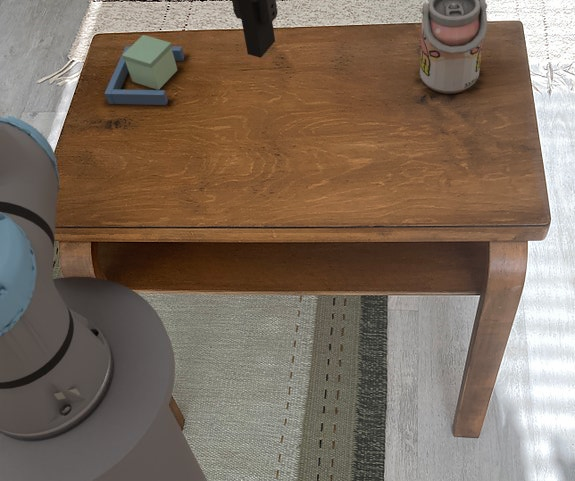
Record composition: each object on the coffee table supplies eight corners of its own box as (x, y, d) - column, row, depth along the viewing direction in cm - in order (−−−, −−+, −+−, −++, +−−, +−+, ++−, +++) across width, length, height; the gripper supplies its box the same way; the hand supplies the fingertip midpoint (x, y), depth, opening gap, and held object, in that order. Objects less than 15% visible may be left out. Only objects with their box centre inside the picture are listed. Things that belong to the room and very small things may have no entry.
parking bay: (184, 57, 115) (181, 46, 114) (166, 105, 109) (163, 94, 107) (129, 56, 117) (125, 45, 115) (108, 104, 110) (104, 93, 109)
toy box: (131, 82, 113) (121, 55, 109) (151, 61, 115) (143, 34, 112) (158, 91, 111) (150, 63, 107) (178, 70, 113) (171, 42, 110)
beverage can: (484, 99, 102) (494, 25, 93) (422, 104, 103) (425, 31, 93) (475, 56, 108) (483, -18, 98) (416, 61, 109) (418, -12, 99)
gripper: (322, -239, 53) (340, 39, 71) (171, -253, 58) (225, 11, 76) (269, -194, 49) (302, 88, 67) (113, -212, 54) (183, 55, 72)
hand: (261, 47), depth 72 cm, fingers closed
